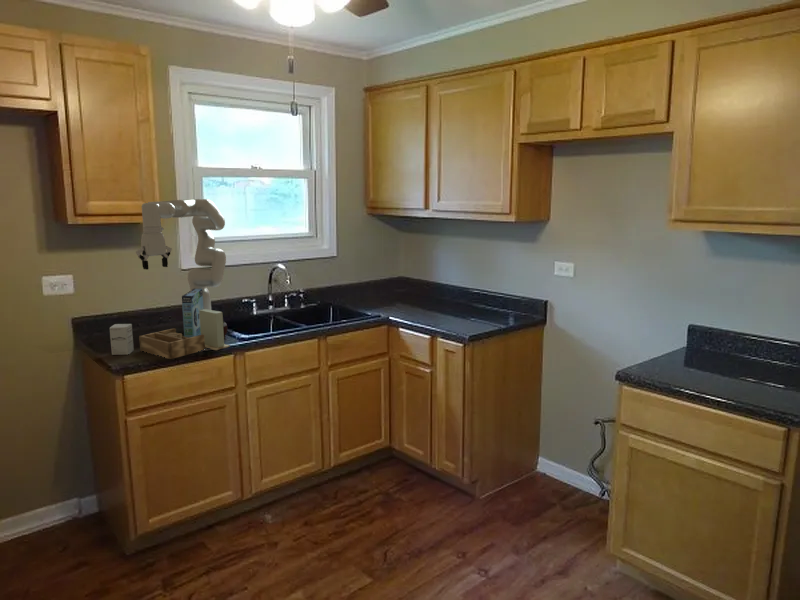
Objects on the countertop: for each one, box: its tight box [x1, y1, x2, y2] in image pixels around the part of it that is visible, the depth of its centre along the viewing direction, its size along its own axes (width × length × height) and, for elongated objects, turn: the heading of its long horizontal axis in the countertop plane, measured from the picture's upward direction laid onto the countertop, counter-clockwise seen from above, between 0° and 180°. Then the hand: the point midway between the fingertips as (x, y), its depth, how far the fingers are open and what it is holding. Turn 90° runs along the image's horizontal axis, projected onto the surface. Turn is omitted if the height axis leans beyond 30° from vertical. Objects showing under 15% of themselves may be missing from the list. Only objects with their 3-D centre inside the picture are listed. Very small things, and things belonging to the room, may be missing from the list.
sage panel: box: [199, 309, 225, 348], centre depth 273 cm, size 4×12×16 cm, turn 55°
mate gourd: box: [223, 321, 228, 340], centre depth 286 cm, size 8×8×15 cm
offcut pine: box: [166, 332, 183, 338], centre depth 272 cm, size 4×6×3 cm
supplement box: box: [109, 323, 134, 356], centre depth 263 cm, size 7×7×13 cm
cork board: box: [205, 343, 231, 351], centre depth 274 cm, size 8×14×1 cm, turn 55°
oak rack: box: [138, 327, 206, 360], centre depth 267 cm, size 18×22×7 cm
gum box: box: [181, 289, 204, 338], centre depth 288 cm, size 20×5×23 cm, turn 3°
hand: (155, 268), depth 270 cm, fingers open, 9 cm apart
